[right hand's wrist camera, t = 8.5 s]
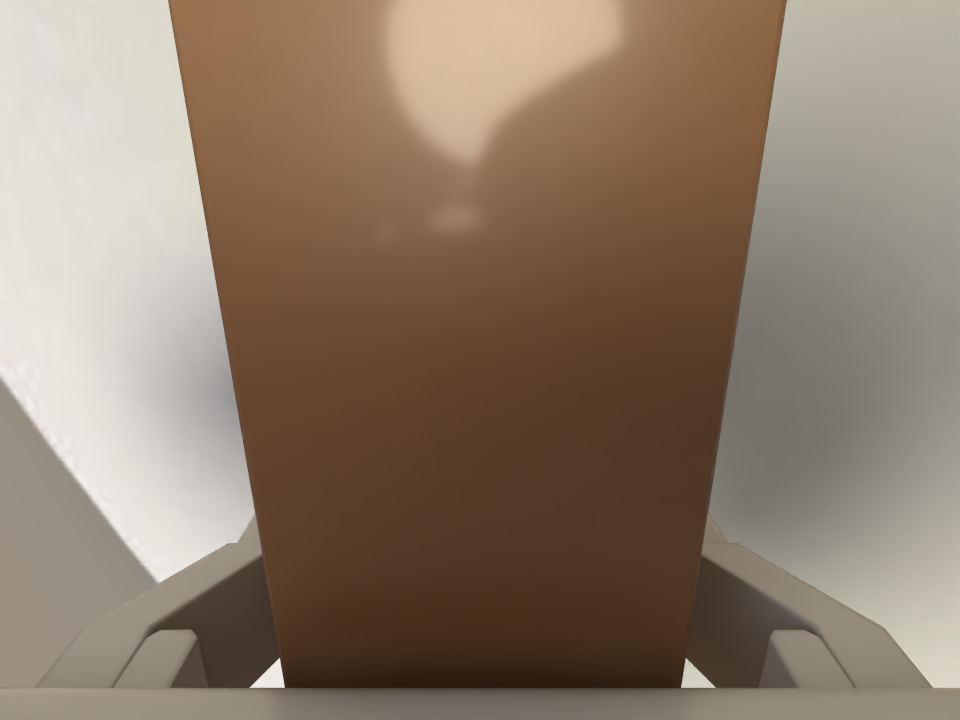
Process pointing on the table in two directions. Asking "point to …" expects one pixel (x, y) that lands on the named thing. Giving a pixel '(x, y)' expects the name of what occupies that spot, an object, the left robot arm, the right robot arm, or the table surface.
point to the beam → (480, 318)
